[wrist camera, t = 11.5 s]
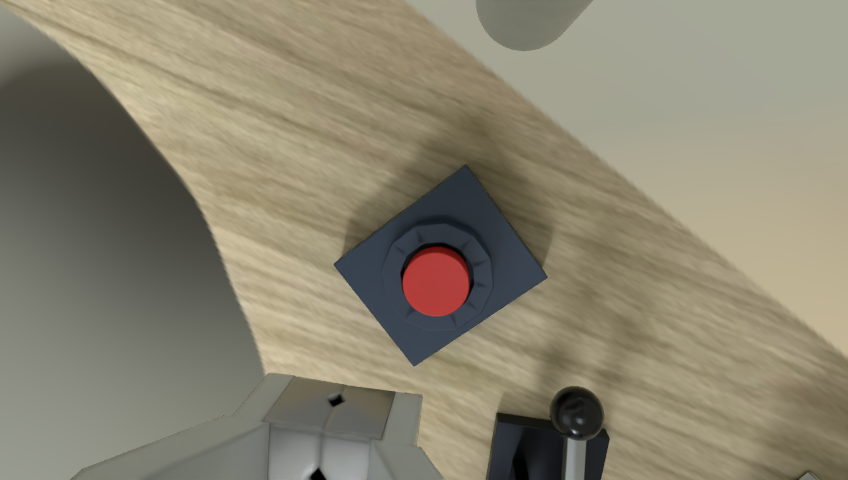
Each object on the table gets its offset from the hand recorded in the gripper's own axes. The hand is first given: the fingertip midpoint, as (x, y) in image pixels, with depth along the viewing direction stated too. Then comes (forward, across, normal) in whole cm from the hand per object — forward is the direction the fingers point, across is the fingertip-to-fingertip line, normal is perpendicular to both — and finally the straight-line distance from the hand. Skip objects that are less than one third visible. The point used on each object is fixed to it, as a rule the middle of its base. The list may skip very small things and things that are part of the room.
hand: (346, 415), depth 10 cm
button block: (+25, -1, +4) cm, 25 cm away
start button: (+22, -1, +4) cm, 22 cm away
